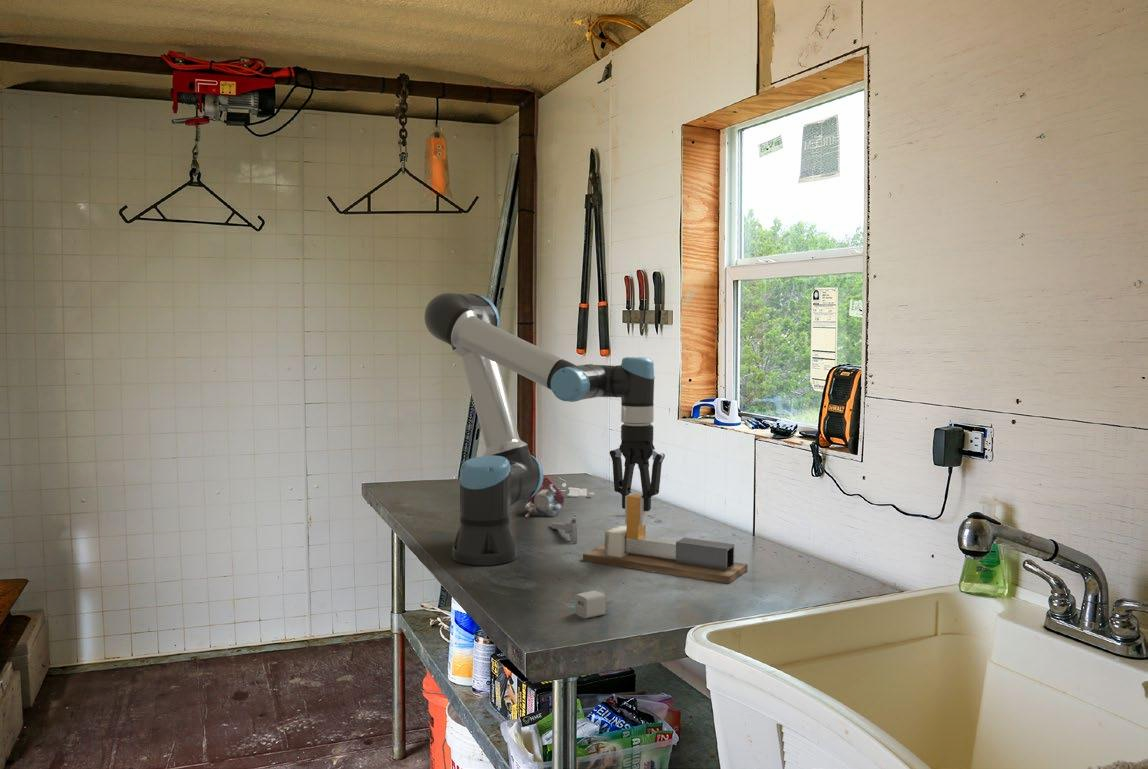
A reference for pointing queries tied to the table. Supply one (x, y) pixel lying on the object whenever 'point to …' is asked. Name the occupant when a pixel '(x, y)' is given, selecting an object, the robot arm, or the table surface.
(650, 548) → the stacked block assembly
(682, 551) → the outer sleeve
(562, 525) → the caliper
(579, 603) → the usb wall charger
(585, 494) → the miniature set
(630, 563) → the base board
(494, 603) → the table surface
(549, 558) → the table surface
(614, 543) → the socket block
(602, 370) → the robot arm
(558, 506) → the brake caliper
